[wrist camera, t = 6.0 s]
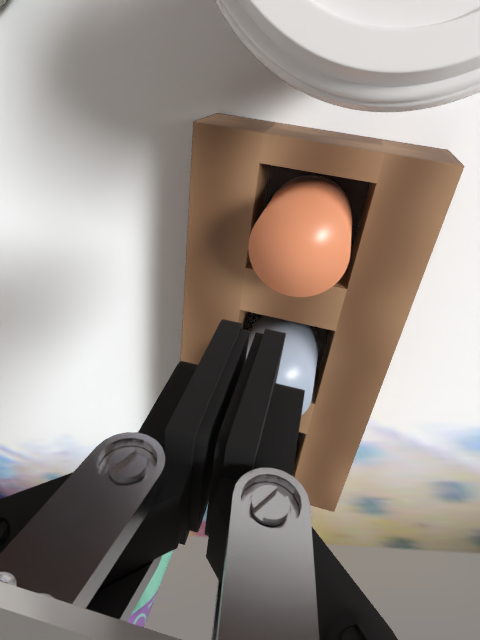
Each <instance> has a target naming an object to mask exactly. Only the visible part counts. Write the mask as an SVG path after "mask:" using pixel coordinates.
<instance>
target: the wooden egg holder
mask: <svg viewBox="0 0 480 640" xmlns="http://www.w3.org/2000/svg"><path fill="white" fill-rule="evenodd" d="M271 165H273V166H279V167H285V168H291V169H296V170H302V171H308V172H314V173H319V174H325V175H331V176H337V177H342V178H348V179H354V180H360V181H365V182H370V183H369V187H368V191H367V195H366V198H365V202H364V206H363V209H362V213H361V217H360V220H359V224H358V228H357V232H356V235H355V239H354V243H353V246H352V250H351V254H350V260H349V264H348V266H347V269H346V271H345V273H344V274H343V276H342V277H341V279H340V280H339V281H338V282H337V283H336V284H335V285H334V286H332V287H331V288H330V289H328V290H326V291H325V292H322V293H320V294H317V295H314V296H309V297H292V296H287V295H284V294H281V293H279V292H276V291H275V290H273V289H271V288H270V287H268V286H267V285H266V284H265V283H264V282H263V281H262V280H261V279H260V278H259V277H258V276H257V274H256V273H255V271H254V269H253V267H252V264H251V262H250V258H249V251H248V245H249V238H250V234H251V231H252V229H253V227H254V225H255V223H256V222H257V220H258V219H259V217H260V216H261V214H262V213H263V211H264V209H265V204H266V198H267V191H268V184H269V178H270V171H271ZM463 168H464V165H463V164H462V163H461V162H460V161H459V160H458V159H457V158H456V157H455V156H454V155H453V154H452V153H451V152H450V151H449V150H445V149H439V148H432V147H426V146H420V145H414V144H407V143H401V142H395V141H389V140H382V139H376V138H370V137H364V136H357V135H351V134H345V133H339V132H332V131H326V130H320V129H314V128H307V127H301V126H295V125H289V124H282V123H276V122H270V121H264V120H257V119H251V118H245V117H239V116H232V115H226V114H220V113H216V114H214V115H211V116H208V117H205V118H203V119H200V120H197V121H194V122H193V141H192V159H191V178H190V197H189V215H188V234H187V252H186V271H185V290H184V308H183V327H182V345H181V361H184V362H188V363H193V364H197V365H198V364H199V362H200V360H201V358H202V357H203V355H204V353H205V351H206V349H207V347H208V345H209V343H210V341H211V339H212V337H213V335H214V333H215V331H216V329H217V327H218V325H219V323H220V322H221V320H222V319H225V320H229V321H234V322H238V323H243V329H244V330H247V326H248V319H249V312H252V313H256V314H261V315H265V316H270V317H274V318H279V319H283V320H288V321H292V322H297V323H301V324H306V325H310V326H315V327H319V328H324V329H328V330H330V331H329V335H328V339H327V343H326V346H325V350H324V354H323V357H322V361H321V365H320V366H318V365H317V366H316V373H315V380H314V387H313V394H312V400H311V403H310V406H309V408H308V409H307V411H306V412H305V413H304V414H303V415H301V421H300V427H299V432H300V433H302V435H301V439H300V442H299V446H297V447H296V454H295V460H294V467H293V473H292V476H293V477H294V478H295V479H296V480H297V481H298V482H300V483H301V484H302V486H303V488H304V489H305V491H306V493H307V494H308V498H309V503H310V505H311V506H315V507H319V508H322V509H326V510H329V511H333V512H334V511H335V508H336V505H337V503H338V500H339V497H340V495H341V492H342V489H343V487H344V484H345V481H346V479H347V476H348V473H349V471H350V468H351V465H352V463H353V460H354V457H355V455H356V452H357V450H358V447H359V444H360V442H361V439H362V436H363V434H364V431H365V428H366V426H367V423H368V420H369V418H370V415H371V412H372V410H373V407H374V404H375V402H376V399H377V396H378V394H379V391H380V388H381V386H382V383H383V381H384V378H385V375H386V373H387V370H388V367H389V365H390V362H391V359H392V357H393V354H394V351H395V349H396V346H397V343H398V341H399V338H400V335H401V333H402V330H403V327H404V325H405V322H406V320H407V317H408V314H409V312H410V309H411V306H412V304H413V301H414V298H415V296H416V293H417V290H418V288H419V285H420V282H421V280H422V277H423V274H424V272H425V269H426V266H427V264H428V261H429V259H430V256H431V253H432V251H433V248H434V245H435V243H436V240H437V237H438V235H439V232H440V229H441V227H442V224H443V221H444V219H445V216H446V213H447V211H448V208H449V205H450V203H451V200H452V198H453V195H454V192H455V190H456V187H457V184H458V182H459V179H460V176H461V174H462V171H463Z"/></svg>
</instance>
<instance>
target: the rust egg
mask: <svg viewBox="0 0 480 640" xmlns="http://www.w3.org/2000/svg"><path fill="white" fill-rule="evenodd" d="M351 234H352V207H351V204H350V201H349V199H348V197H347V195H346V193H345V192H344V191H343V189H342V188H341V187H340V186H339V185H337V184H336V183H335V182H333V181H331V180H330V179H327V178H325V177H322V176H317V175H304V176H299V177H296V178H293V179H291V180H289V181H288V182H286V183H285V184H283V185H282V186H281V187H280V188H279V189H278V190H277V191H276V193H275V194H274V196H273V197H272V199H271V200H270V202H269V203H268V205H267V206H266V208H265V209H264V211H263V213H262V214H261V216H260V217H259V219H258V220H257V222H256V223H255V225H254V227H253V229H252V231H251V234H250V238H249V245H248V251H249V258H250V262H251V264H252V267H253V269H254V271H255V273H256V274H257V276H258V277H259V278H260V279H261V280H262V281H263V282H264V283H265V284H266V285H267V286H268V287H270V288H271V289H273V290H275V291H276V292H279V293H281V294H284V295H287V296H292V297H309V296H314V295H317V294H320V293H322V292H325V291H326V290H328V289H330V288H331V287H332V286H334V285H335V284H336V283H337V282H338V281H339V280H340V279H341V277H342V276H343V274H344V273H345V271H346V269H347V266H348V264H349V260H350V252H351Z"/></svg>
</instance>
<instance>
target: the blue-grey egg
mask: <svg viewBox="0 0 480 640" xmlns="http://www.w3.org/2000/svg"><path fill="white" fill-rule="evenodd" d="M265 329H270V330H274V331H279V332H283V333H286V337H285V342H284V347H283V351H282V356H281V361H280V366H279V371H278V376H277V380H276V383H277V384H281V385H286V386H290V387H294V388H298V389H302V390H305V394H304V401H303V408H302V414H301V415H303V414H304V413H305V412H306V411H307V409H308V408H309V406H310V403H311V400H312V394H313V387H314V380H315V373H316V366H317V359H318V352H319V338H318V334H317V332H316V330H315V329H314V327H313V326H310V325H306V324H301V323H297V322H292V321H288V320H283V319H279V318H274V317H270V316H265V315H263V316H262V317H260V318H259V319H258V320H256V322H255V323H254V324H253V326H252V327H251V330H250V335H249V342H248V349H247V355H248V352H249V350H250V347H251V344H252V341H253V339H254V336H255V333H256V332H257V333H262V334H264V331H265ZM247 355H246V358H247Z"/></svg>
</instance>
